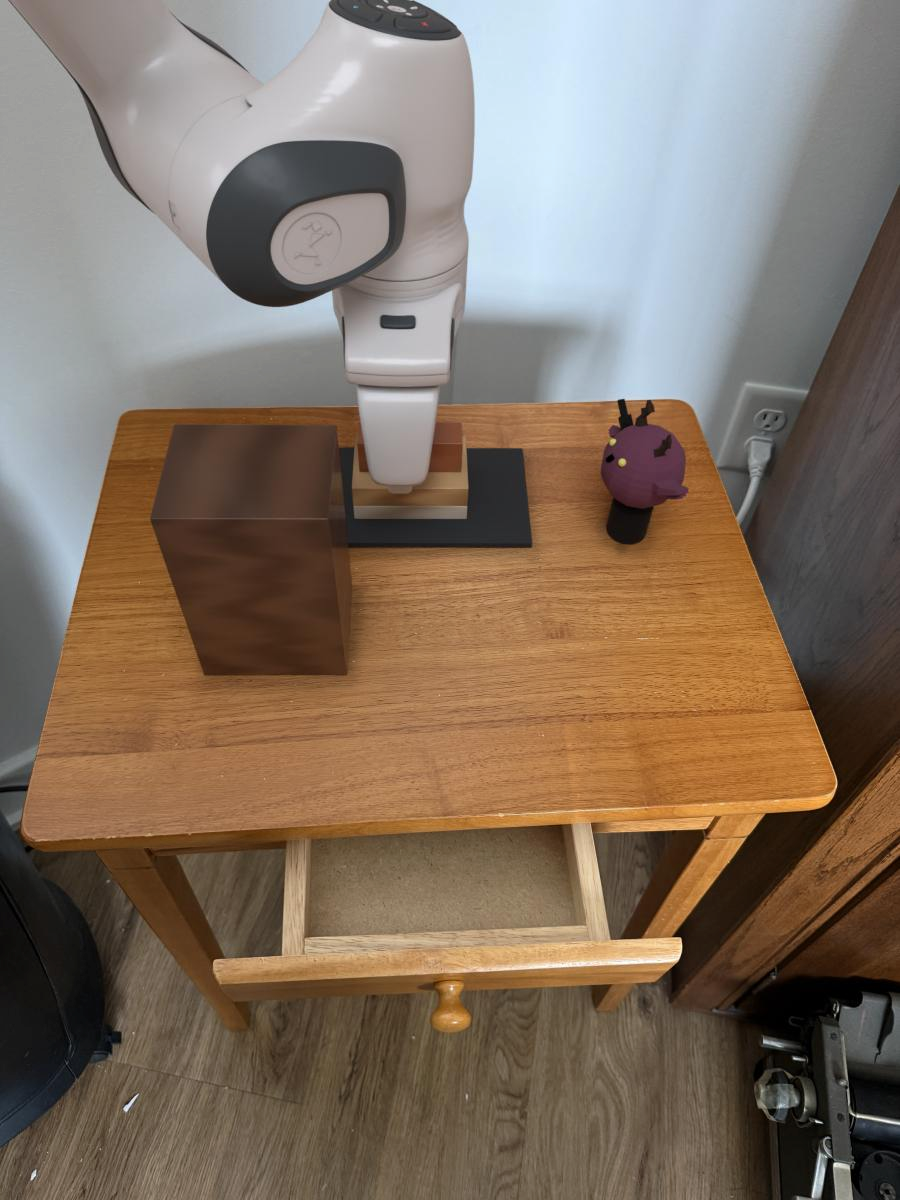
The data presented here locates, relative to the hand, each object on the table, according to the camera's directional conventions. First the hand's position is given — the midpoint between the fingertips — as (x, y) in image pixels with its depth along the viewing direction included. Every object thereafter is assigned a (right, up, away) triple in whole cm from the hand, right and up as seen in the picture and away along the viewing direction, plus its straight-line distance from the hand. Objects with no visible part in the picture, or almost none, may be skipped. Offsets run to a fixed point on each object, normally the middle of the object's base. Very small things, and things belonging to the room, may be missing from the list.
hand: (400, 444), depth 69 cm
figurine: (+18, -7, +3) cm, 20 cm away
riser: (-8, -14, -4) cm, 17 cm away
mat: (0, -4, +5) cm, 6 cm away
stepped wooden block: (+1, -3, +4) cm, 5 cm away
